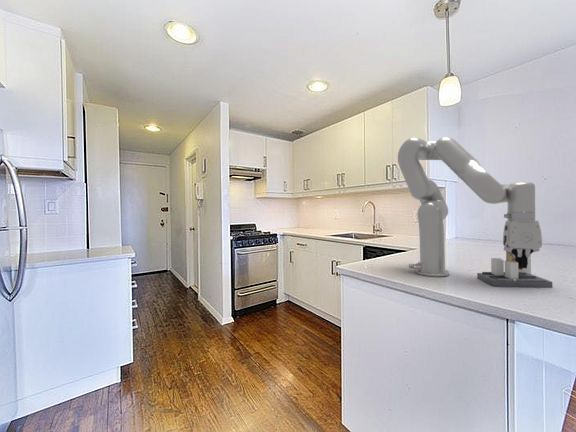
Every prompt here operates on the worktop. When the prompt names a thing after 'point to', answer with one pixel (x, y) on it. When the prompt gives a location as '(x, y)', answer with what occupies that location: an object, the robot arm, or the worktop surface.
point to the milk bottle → (528, 270)
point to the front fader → (511, 269)
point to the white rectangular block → (497, 266)
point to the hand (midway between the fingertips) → (521, 267)
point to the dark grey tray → (514, 280)
